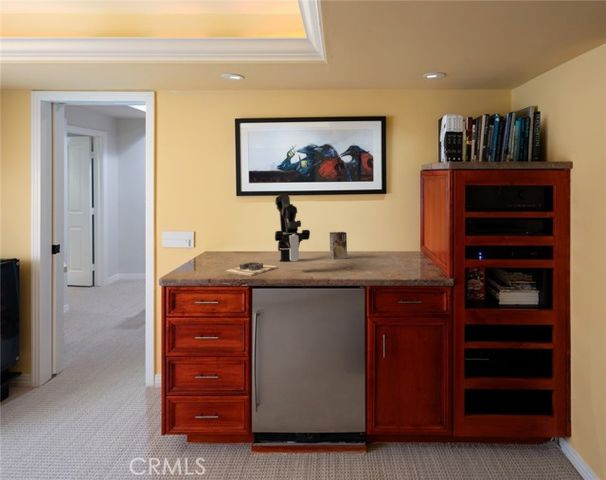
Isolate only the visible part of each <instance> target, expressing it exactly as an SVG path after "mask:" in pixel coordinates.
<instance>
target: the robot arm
mask: <svg viewBox="0 0 606 480" xmlns="http://www.w3.org/2000/svg"><path fill="white" fill-rule="evenodd" d="M290 198H291V197H290V196H289V194H288V193H281V194H279V195H278V196H276V197H275V201H274V202H275V203H274V204H275V206H276V209H277V211H278V212H279V220H280V230H275V232H274V241H275V242H277V243H278V244H277V251H278V252H280V259H279V262H292V261H291V260H290V248H291V247H290V242H289V235H292V234H296V235H297V236H298V243H299V246H300V243H301V242H302V241H303V240H304V241H306V240H307V241H308V240H309V239H310V235H311V231H310V229H302V230H301V232H298V231H299V229H298V228H301V226H302V221H301V220H296V219H297V218H296V217H297V213H298V208H297V206H295V205H293V203H291V199H290Z"/></svg>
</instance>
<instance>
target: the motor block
mask: <svg viewBox="0 0 606 480" xmlns="http://www.w3.org/2000/svg"><path fill="white" fill-rule="evenodd" d="M289 242H290V247H291V248H289V249H290V260H291V261H290V262H298V261H300V252H299V251H300V250H299V249H300V245H299V243H298V236H297V235H296V234H292V235H289Z"/></svg>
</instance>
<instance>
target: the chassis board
mask: <svg viewBox="0 0 606 480" xmlns="http://www.w3.org/2000/svg"><path fill="white" fill-rule="evenodd" d="M278 267H279V266H278V265H270V264H269V265H268V264H264V263H263V262H253V261H249V262H244V263H241V264H239V266H238V267H235V268H229V269H227V270H224V271H223V272H224V273H225V274H231V275H232V274H233V275H242V276H249V277H252V276H255V275H258V274H262V273H265V272H269V271H272V270H276V269H278Z"/></svg>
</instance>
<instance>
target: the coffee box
mask: <svg viewBox="0 0 606 480" xmlns="http://www.w3.org/2000/svg"><path fill="white" fill-rule="evenodd" d="M347 238H348V237H347V232H345V231H334V232H333V231H332V232H329V258H330V259H332V260H344V259H348V245H347V243H348V242H347Z"/></svg>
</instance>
